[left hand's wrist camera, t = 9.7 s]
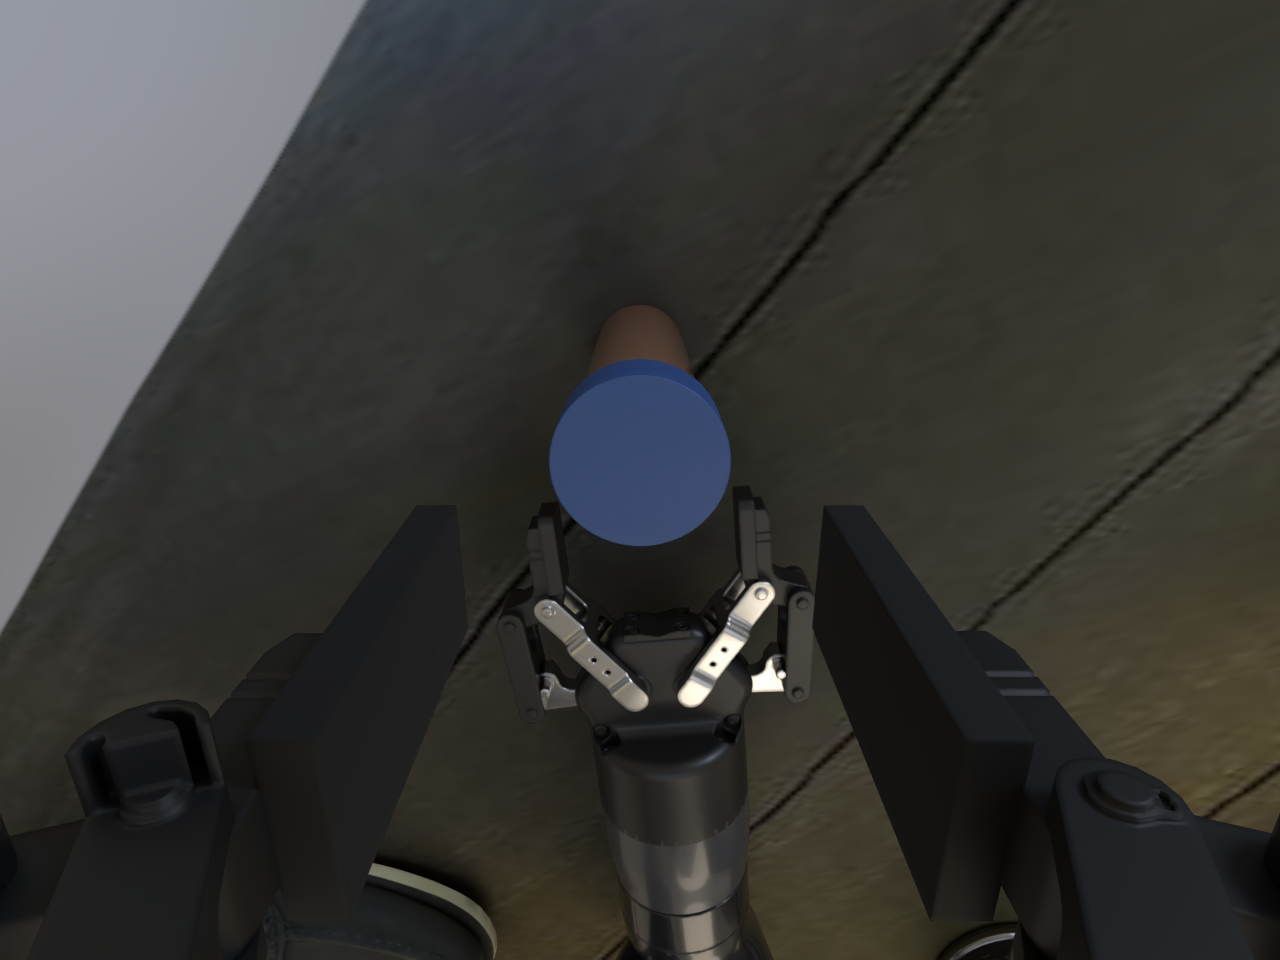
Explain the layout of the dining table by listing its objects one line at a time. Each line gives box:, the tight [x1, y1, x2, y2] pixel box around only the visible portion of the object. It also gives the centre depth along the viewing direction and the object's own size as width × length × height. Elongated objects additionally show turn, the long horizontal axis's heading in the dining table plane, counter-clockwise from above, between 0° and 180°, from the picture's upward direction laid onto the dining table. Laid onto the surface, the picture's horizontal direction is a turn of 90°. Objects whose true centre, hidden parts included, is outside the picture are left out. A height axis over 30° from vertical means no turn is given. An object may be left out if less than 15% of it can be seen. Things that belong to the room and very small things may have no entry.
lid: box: [549, 359, 731, 546], centre depth 21 cm, size 5×5×2 cm
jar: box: [585, 305, 695, 378], centre depth 28 cm, size 4×4×16 cm
